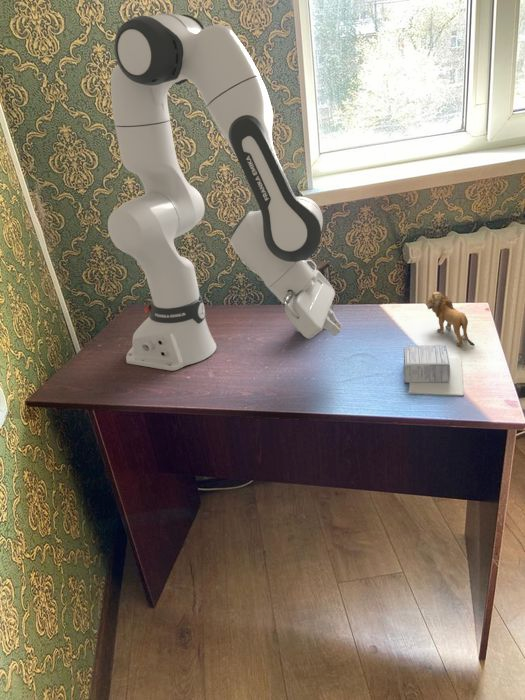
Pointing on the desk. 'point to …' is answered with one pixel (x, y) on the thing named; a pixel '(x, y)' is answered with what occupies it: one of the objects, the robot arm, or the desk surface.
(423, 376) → the medicine box
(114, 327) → the desk surface
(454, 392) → the mat
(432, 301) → the lion figurine
